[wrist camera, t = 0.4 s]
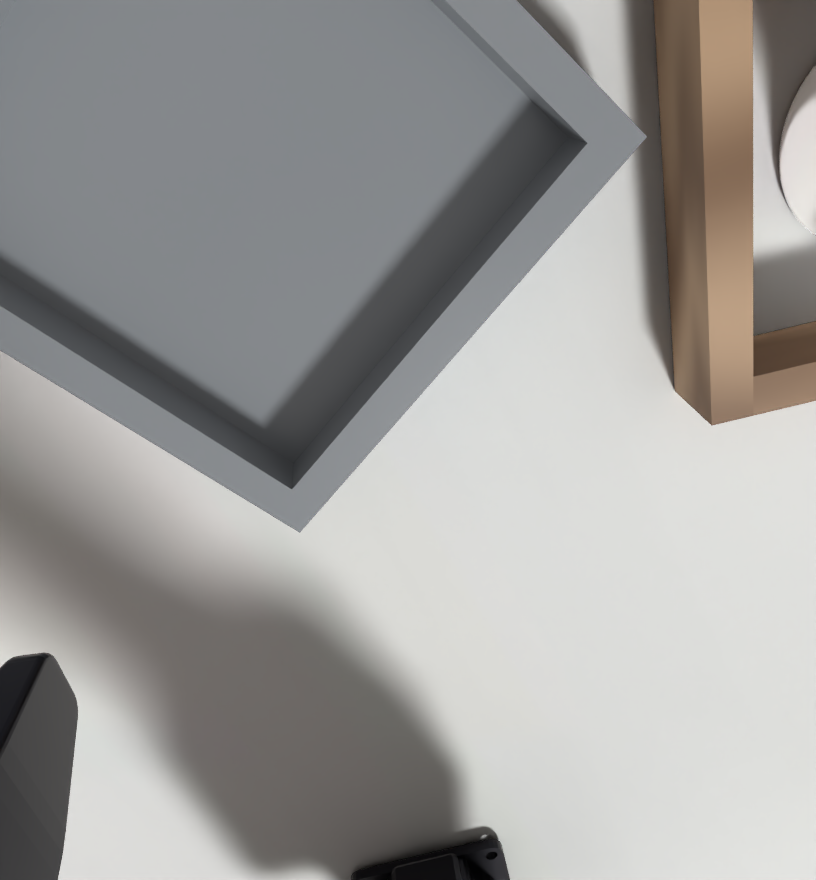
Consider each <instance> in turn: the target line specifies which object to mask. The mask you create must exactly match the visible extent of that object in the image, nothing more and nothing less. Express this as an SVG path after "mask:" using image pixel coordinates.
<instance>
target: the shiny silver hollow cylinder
mask: <svg viewBox="0 0 816 880" xmlns="http://www.w3.org/2000/svg"><path fill="white" fill-rule="evenodd" d="M779 173H780V181H781V186H782V190H783V193H784V196H785V199H786V201H787V204H788V206H789V208H790V209H791V211H792V213H793V214H794V216H795V217H796V219H797V220H798V221H799V222H800V223H801V224H802V225H803V226H804V227H805V228H806V229H807V230H808V231H809V232H811V233H812V234H813V235H815V236H816V65H815V66H814V67H813V68H812V70H811V71H810V73H809V74H808V75H807V77H806V78H805V80H804V82H803V83H802V85H801V87H800V88H799V90H798V92H797V94H796V96H795V98H794V100H793V102H792V105H791V107H790V109H789V112H788V115H787V118H786V121H785V124H784V128H783V132H782V136H781V142H780V150H779Z"/></svg>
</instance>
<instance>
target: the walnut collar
mask: <svg viewBox="0 0 816 880" xmlns="http://www.w3.org/2000/svg"><path fill="white" fill-rule="evenodd" d="M654 18H655V37H656V55H657V74H658V92H659V110H660V129H661V147H662V165H663V184H664V202H665V221H666V239H667V257H668V276H669V294H670V313H671V331H672V349H673V368H674V386H675V392H676V393H678V394H679V395H680V396H681V397H682V398H683V399H684V400H685V401H686V402H687V403H688V404H689V405H690V406H691V407H693V408H694V409H695V410H696V411H697V412H698V413H699V414H700V415H701V416H702V417H703V418H704V419H705V420H706V421H708V422H709V423H710V424H711V425H716V424H720V423H724V422H728V421H732V420H737V419H741V418H745V417H749V416H753V415H757V414H762V413H766V412H770V411H774V410H778V409H782V408H787V407H791V406H795V405H799V404H803V403H808V402H812V401H816V321H814V322H810V323H806V324H802V325H798V326H794V327H789V328H785V329H781V330H777V331H773V332H769V333H764V334H760V335H756V336H753V0H654Z"/></svg>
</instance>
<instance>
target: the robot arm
mask: <svg viewBox="0 0 816 880" xmlns="http://www.w3.org/2000/svg"><path fill="white" fill-rule="evenodd" d="M77 720H78V706H77V701H76V697H75V695H74V692H73V691H72V689H71V687H70V685H69V683H68V681H67V679H66V677H65V676H64V674H63V672H62V670H61V668H60V666H59V664H58V662H57V661H56V659H55V658H54V656H52V655H51V654H49V653H37V654H29V655H22V656H16V657H13V658H11V659H10V660H8V661H7V662H5V663H4V664H3V665H2V666H1V668H0V880H58V875H59V870H60V865H61V860H62V854H63V847H64V840H65V832H66V823H67V814H68V804H69V795H70V786H71V776H72V767H73V757H74V748H75V739H76V729H77ZM351 880H510V878H509V874H508V870H507V865H506V861H505V857H504V853H503V849H502V845H501V843H500V841H498V840H495V839H488V840H484V841H479V842H475V843H471V844H467V845H463V846H458V847H454V848H450V849H446V850H442V851H437V852H433V853H429V854H425V855H421V856H416V857H412V858H408V859H404V860H400V861H395V862H391V863H387V864H383V865H379V866H374V867H370V868H366V869H362V870H359V871H356V872H355V873H353V874H352V876H351Z"/></svg>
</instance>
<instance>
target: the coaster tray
mask: <svg viewBox="0 0 816 880" xmlns="http://www.w3.org/2000/svg"><path fill="white" fill-rule="evenodd" d="M646 137H647V136H646V135H645V134H644V133H643V132H642V131H641V130H640V129H639V128H638V127H637V126H636V125H635V123H634V122H633V121H632V120H631V119H630V118H629V117H628V116H627V115H626V114H625V113H624V112H623V111H622V110H621V109H620V108H619V107H618V106H617V105H616V104H615V103H614V101H613V100H612V99H611V98H610V97H609V96H608V95H607V94H606V93H605V92H604V91H603V90H602V89H601V88H600V87H599V86H598V85H597V84H596V83H595V82H594V81H593V80H592V78H591V77H590V76H589V75H588V74H587V73H586V72H585V71H584V70H583V69H582V68H581V67H580V66H579V65H578V64H577V63H576V62H575V61H574V60H573V59H572V58H571V57H570V55H569V54H568V53H567V52H566V51H565V50H564V49H563V48H562V47H561V46H560V45H559V44H558V43H557V42H556V41H555V40H554V39H553V38H552V37H551V36H550V35H549V33H548V32H547V31H546V30H545V29H544V28H543V27H542V26H541V25H540V24H539V23H538V22H537V21H536V20H535V19H534V18H533V17H532V16H531V15H530V14H529V13H528V12H527V10H526V9H525V8H524V7H523V6H522V5H521V4H520V3H519V2H518V1H517V0H0V351H2V352H4V353H5V354H7V355H9V356H10V357H12V358H14V359H15V360H17V361H19V362H20V363H22V364H23V365H25V366H27V367H28V368H30V369H32V370H33V371H35V372H37V373H38V374H40V375H42V376H43V377H45V378H46V379H48V380H50V381H51V382H53V383H55V384H56V385H58V386H60V387H61V388H63V389H65V390H66V391H68V392H70V393H71V394H73V395H74V396H76V397H78V398H79V399H81V400H83V401H84V402H86V403H88V404H89V405H91V406H93V407H94V408H96V409H97V410H99V411H101V412H102V413H104V414H106V415H107V416H109V417H111V418H112V419H114V420H116V421H117V422H119V423H120V424H122V425H124V426H125V427H127V428H129V429H130V430H132V431H134V432H135V433H137V434H139V435H140V436H142V437H144V438H145V439H147V440H148V441H150V442H152V443H153V444H155V445H157V446H158V447H160V448H162V449H163V450H165V451H167V452H168V453H170V454H171V455H173V456H175V457H176V458H178V459H180V460H181V461H183V462H185V463H186V464H188V465H190V466H191V467H193V468H194V469H196V470H198V471H199V472H201V473H203V474H204V475H206V476H208V477H209V478H211V479H213V480H214V481H216V482H218V483H219V484H221V485H222V486H224V487H226V488H227V489H229V490H231V491H232V492H234V493H236V494H237V495H239V496H241V497H242V498H244V499H245V500H247V501H249V502H250V503H252V504H254V505H255V506H257V507H259V508H260V509H262V510H264V511H265V512H267V513H268V514H270V515H272V516H273V517H275V518H277V519H278V520H280V521H282V522H283V523H285V524H287V525H288V526H290V527H292V528H293V529H295V530H296V531H298V532H301V531H302V529H303V528H304V527H305V526H306V525H307V524H308V523H309V521H310V520H311V519H312V518H313V517H314V516H315V515H316V514H317V512H318V511H319V510H320V509H321V508H322V507H323V506H324V504H325V503H326V502H327V501H328V500H329V499H330V498H331V496H332V495H333V494H334V493H335V492H336V491H337V490H338V488H339V487H340V486H341V485H342V484H343V483H344V482H345V480H346V479H347V478H348V477H349V476H350V475H351V474H352V472H353V471H354V470H355V469H356V468H357V467H358V466H359V464H360V463H361V462H362V461H363V460H364V459H365V458H366V457H367V455H368V454H369V453H370V452H371V451H372V450H373V449H374V447H375V446H376V445H377V444H378V443H379V442H380V441H381V439H382V438H383V437H384V436H385V435H386V434H387V433H388V431H389V430H390V429H391V428H392V427H393V426H394V425H395V423H396V422H397V421H398V420H399V419H400V418H401V417H402V415H403V414H404V413H405V412H406V411H407V410H408V409H409V408H410V406H411V405H412V404H413V403H414V402H415V401H416V400H417V398H418V397H419V396H420V395H421V394H422V393H423V392H424V390H425V389H426V388H427V387H428V386H429V385H430V384H431V382H432V381H433V380H434V379H435V378H436V377H437V376H438V374H439V373H440V372H441V371H442V370H443V369H444V368H445V366H446V365H447V364H448V363H449V362H450V361H451V360H452V358H453V357H454V356H455V355H456V354H457V353H458V352H459V351H460V349H461V348H462V347H463V346H464V345H465V344H466V343H467V341H468V340H469V339H470V338H471V337H472V336H473V335H474V333H475V332H476V331H477V330H478V329H479V328H480V327H481V325H482V324H483V323H484V322H485V321H486V320H487V319H488V317H489V316H490V315H491V314H492V313H493V312H494V311H495V309H496V308H497V307H498V306H499V305H500V304H501V303H502V301H503V300H504V299H505V298H506V297H507V296H508V295H509V294H510V292H511V291H512V290H513V289H514V288H515V287H516V286H517V284H518V283H519V282H520V281H521V280H522V279H523V278H524V276H525V275H526V274H527V273H528V272H529V271H530V270H531V268H532V267H533V266H534V265H535V264H536V263H537V262H538V260H539V259H540V258H541V257H542V256H543V255H544V254H545V252H546V251H547V250H548V249H549V248H550V247H551V246H552V244H553V243H554V242H555V241H556V240H557V239H558V238H559V237H560V235H561V234H562V233H563V232H564V231H565V230H566V229H567V227H568V226H569V225H570V224H571V223H572V222H573V221H574V219H575V218H576V217H577V216H578V215H579V214H580V213H581V211H582V210H583V209H584V208H585V207H586V206H587V205H588V203H589V202H590V201H591V200H592V199H593V198H594V197H595V195H596V194H597V193H598V192H599V191H600V190H601V189H602V188H603V186H604V185H605V184H606V183H607V182H608V181H609V180H610V178H611V177H612V176H613V175H614V174H615V173H616V172H617V170H618V169H619V168H620V167H621V166H622V165H623V164H624V162H625V161H626V160H627V159H628V158H629V157H630V156H631V154H632V153H633V152H634V151H635V150H636V149H637V148H638V146H639V145H640V144H641V143H642V142H643V141H644V140H645V138H646Z"/></svg>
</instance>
